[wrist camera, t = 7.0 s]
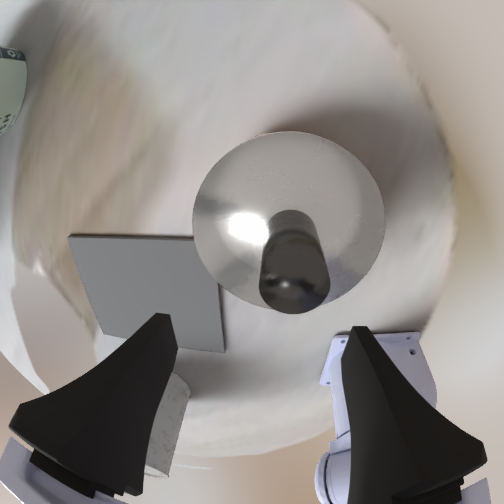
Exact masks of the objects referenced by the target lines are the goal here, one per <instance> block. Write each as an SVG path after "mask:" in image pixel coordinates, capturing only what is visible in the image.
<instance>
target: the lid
mask: <svg viewBox="0 0 504 504" xmlns="http://www.w3.org/2000/svg"><path fill="white" fill-rule="evenodd" d="M192 227H193V236H194V241H195V245H196V248H197V251H198V254H199V256H200V258H201V260H202V262H203V264H204V265H205V267H206V268H207V270H208V271H209V273H210V274H211V275H212V276H213V278H214V279H215V280H216V281H217V282H218V283H219V284H220V285H221V286H222V287H224V288H225V289H226V290H227V291H229V292H230V293H232V294H233V295H235V296H236V297H238V298H240V299H242V300H244V301H246V302H248V303H251V304H253V305H257V306H260V307H263V308H268V309H274V310H276V311H279V312H282V313H287V314H300V313H305V312H308V311H310V310H313V309H314V308H316V307H318V306H320V305H323V304H326V303H329V302H331V301H333V300H335V299H337V298H339V297H340V296H342V295H344V294H345V293H347V292H348V291H349V290H351V289H352V288H353V287H354V286H356V285H357V284H358V283H359V282H360V281H361V280H362V279H363V278H364V276H365V275H366V274H367V273H368V271H369V270H370V269H371V267H372V265H373V264H374V262H375V260H376V258H377V256H378V254H379V252H380V249H381V246H382V242H383V239H384V232H385V210H384V203H383V200H382V196H381V193H380V190H379V188H378V186H377V184H376V182H375V180H374V178H373V177H372V175H371V174H370V172H369V171H368V169H367V168H366V167H365V166H364V165H363V164H362V162H361V161H360V160H359V159H358V158H357V157H355V156H354V155H353V154H352V153H350V152H349V151H348V150H346V149H345V148H343V147H341V146H340V145H338V144H336V143H335V142H333V141H331V140H328V139H326V138H323V137H321V136H318V135H314V134H310V133H305V132H296V131H283V132H274V133H268V134H264V135H261V136H258V137H255V138H252V139H250V140H248V141H246V142H244V143H242V144H240V145H238V146H237V147H235V148H234V149H232V150H231V151H229V152H228V153H227V154H226V155H225V156H224V157H223V158H221V159H220V160H219V161H218V162H217V163H216V164H215V165H214V167H213V168H212V169H211V170H210V172H209V173H208V174H207V176H206V177H205V179H204V181H203V183H202V184H201V186H200V189H199V191H198V194H197V196H196V200H195V204H194V208H193V217H192Z"/></svg>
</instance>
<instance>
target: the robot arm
mask: <svg viewBox="0 0 504 504" xmlns="http://www.w3.org/2000/svg"><path fill="white" fill-rule="evenodd" d="M420 337H421V335H420V333H419V332H407V333H392V334H372V332H371V331H370V330H369V328H368V327H367V326H353V327H352V330H351V332H350V335H337V336H335V337H333V339H332V342H331V345H330V349H329V352H328V355H327V359H326V362H325V365H324V368H323V371H322V374H321V377H320V380H319V384H320V385H331V391H332V400H333V410H334V421H335V431H336V440H334V441H331V442H329V450H330V451H329V452H326V453H325V454H324V455H323V456H322V457H321V459H320V461H319V463H318V465H317V467H316V471H315V489H316V494H317V496H318V499H319V501H320V502H321V504H491V500H490V493H489V487H488V481H487V478H484V479H482V480H480V481H479V482H477V483H475V484H473V485H471V486H469V487H467V488H465V489H463V490H461V489H460V486H461V485H463V484H464V479H463V477H464V476H466V475H467V474H469V473H471V472H473V471H475V470H476V469H478V468H479V467H481V466H483V465H484V464H485V463H486V462H487V456H486V452H485V449H484V445H483V443H482V442H481V441H480V440H478V439H476V438H474V437H473V436H471V435H469V434H468V433H466V432H464V431H463V430H461V429H460V428H459V427H457V426H456V425H454V424H453V423H452V422H450V421H449V420H448V419H446V418H445V417H444V416H443V415H441V414H440V413H439V412H438V411H437V410H436V409H435V407H436V402H437V392H436V385H435V382H434V379H433V377H432V374H431V371H430V369H429V366H428V364H427V361H426V359H425V356H424V354H423V352H422V349H421V347H420V344H419V342H418V340H419V339H420ZM177 351H178V345H177V341H176V337H175V333H174V329H173V325H172V321H171V317H170V314H164V313H157V312H156V313H155V314H154V315H153V316H152V317H151V318H150V319H149V320H148V321H147V322H146V323H144V324H143V325H142V326H141V327H140V328H139V329H138V330H137V331H136V332H135V333H134V334H133V335H132V336H131V337H130V338H129V339H127V340H126V341H125V342H124V343H123V344H122V345H121V346H120V347H119V348H118V349H116V350H115V351H114V352H113V353H112V354H110V355H109V356H108V357H107V358H106V359H104V360H103V361H102V362H101V363H99V364H98V365H97V366H95V367H94V368H93V369H91V370H90V371H88V372H87V373H85V374H84V375H82V376H81V377H79V378H77V379H76V380H74V381H72V382H71V383H69V384H67V385H65V386H63V387H62V388H60V389H58V390H56V391H54V392H51V393H49V394H47V395H44V396H42V397H39V398H37V399H34V400H31V401H28V402H25V403H22V404H20V405H19V407H18V409H17V410H16V413H15V414H14V416H13V418H12V420H11V422H10V424H9V429H10V430H11V431H13V432H14V433H15V434H16V435H17V436H19V437H20V438H21V439H22V440H24V441H25V442H26V443H28V444H29V445H30V446H32V447H33V448H34V451H33V453H32V452H31V451H30V450H28V449H27V448H25V447H24V446H23V445H21V444H20V443H19V442H18V441H16V440H15V439H14V438H12V437H10V439H9V441H8V443H7V445H6V448H5V450H4V452H3V454H2V457H1V459H0V482H1V483H2V484H3V485H4V486H5V487H6V488H7V489H8V490H9V491H10V492H11V493H12V494H13V495H14V496H15V497H17V498H18V499H19V500H20V501H21V502H22V503H23V504H127V503H125V502H122V501H120V500H117V499H115V498H113V497H114V494H118V495H120V496H123V494H124V492H125V493H128V494H130V495H133V496H138V495H140V494H142V493H143V480H144V470H145V463H146V456H147V451H148V445H149V440H150V435H151V431H152V427H153V423H154V419H155V416H156V412H157V410H158V407H159V404H160V402H161V399H162V396H163V394H164V391H165V389H166V386H167V384H168V381H169V378H170V376H171V373H172V370H173V367H174V363H175V359H176V355H177Z"/></svg>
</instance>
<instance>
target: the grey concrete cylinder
mask: <svg viewBox="0 0 504 504" xmlns="http://www.w3.org/2000/svg"><path fill="white" fill-rule="evenodd" d="M190 394H191V391H190V388H189V386H188V384H187V383H186V382H185V381H184V380H183V379H182V378H181V377H179V376H178V375H177V374H175V373H174V372H172V373H171V376H170V378H169V381H168V384H167V386H166V389H165V391H164V394H163V396H162V399H161V402H160V404H159V407H158V410H157V412H156V416H155V419H154V423H153V427H152V431H151V435H150V440H149V445H148V451H147V456H146V463H145V470H144V474H145V475H148V476H152V477H156V478H164V479H166V478H168V477H169V475H168V474H169V470H170V466H171V462H172V458H173V455H174V451H175V447H176V443H177V439H178V436H179V432H180V428H181V424H182V421H183V417H184V413H185V410H186V406H187V402H188V399H189V397H190Z"/></svg>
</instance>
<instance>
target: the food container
mask: <svg viewBox="0 0 504 504" xmlns="http://www.w3.org/2000/svg"><path fill="white" fill-rule="evenodd" d="M26 83H27V65H26V60H25V57H24V55H23V53H22V52H21V51H19V50H17V49H12V48H8V47H3V46H0V135H2V134H4V133H5V132H7V131H8V130H9V129H10V128H11V127H12V125H13V124H14V122H15V120H16V118H17V116H18V114H19V112H20V109H21V106H22V103H23V99H24V95H25V90H26Z"/></svg>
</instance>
